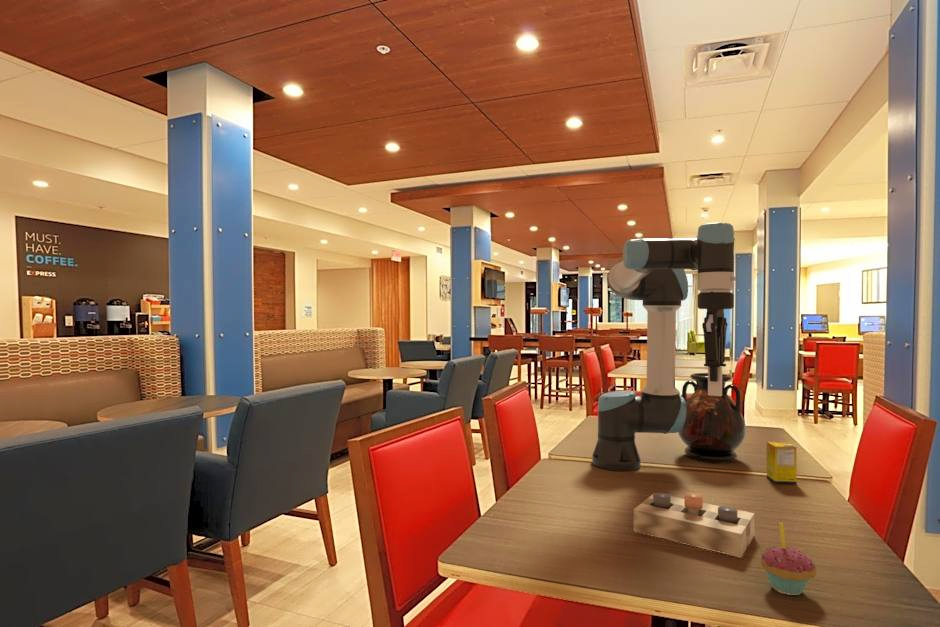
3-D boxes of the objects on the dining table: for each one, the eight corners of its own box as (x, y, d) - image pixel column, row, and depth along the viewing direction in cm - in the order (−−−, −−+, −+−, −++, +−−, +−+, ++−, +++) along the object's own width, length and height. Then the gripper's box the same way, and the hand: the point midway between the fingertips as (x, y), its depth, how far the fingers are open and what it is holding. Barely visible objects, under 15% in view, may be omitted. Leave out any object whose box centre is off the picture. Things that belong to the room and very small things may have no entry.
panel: (633, 531, 122) (633, 509, 122) (654, 513, 133) (654, 492, 133) (741, 559, 108) (741, 534, 108) (754, 535, 119) (754, 513, 119)
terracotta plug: (682, 518, 120) (682, 496, 120) (687, 513, 123) (687, 491, 123) (700, 522, 118) (700, 499, 118) (704, 517, 121) (704, 495, 121)
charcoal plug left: (650, 518, 124) (650, 496, 124) (656, 513, 127) (656, 491, 127) (667, 521, 122) (667, 499, 122) (672, 516, 125) (672, 495, 125)
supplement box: (786, 478, 161) (787, 441, 161) (797, 484, 155) (797, 446, 155) (765, 477, 162) (766, 441, 162) (775, 484, 156) (775, 446, 156)
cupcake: (750, 578, 100) (750, 514, 100) (793, 576, 101) (793, 512, 101) (781, 603, 92) (781, 533, 92) (827, 601, 93) (828, 531, 93)
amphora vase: (754, 456, 185) (754, 374, 185) (733, 470, 169) (734, 380, 169) (690, 446, 199) (690, 370, 199) (666, 457, 184) (666, 375, 184)
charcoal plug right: (715, 533, 116) (716, 509, 116) (720, 527, 119) (720, 504, 119) (735, 537, 114) (735, 513, 114) (739, 531, 117) (739, 508, 117)
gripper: (726, 290, 116) (726, 400, 116) (739, 292, 126) (739, 393, 126) (690, 291, 120) (689, 397, 120) (705, 292, 131) (704, 390, 131)
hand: (715, 395), depth 123 cm, fingers closed
